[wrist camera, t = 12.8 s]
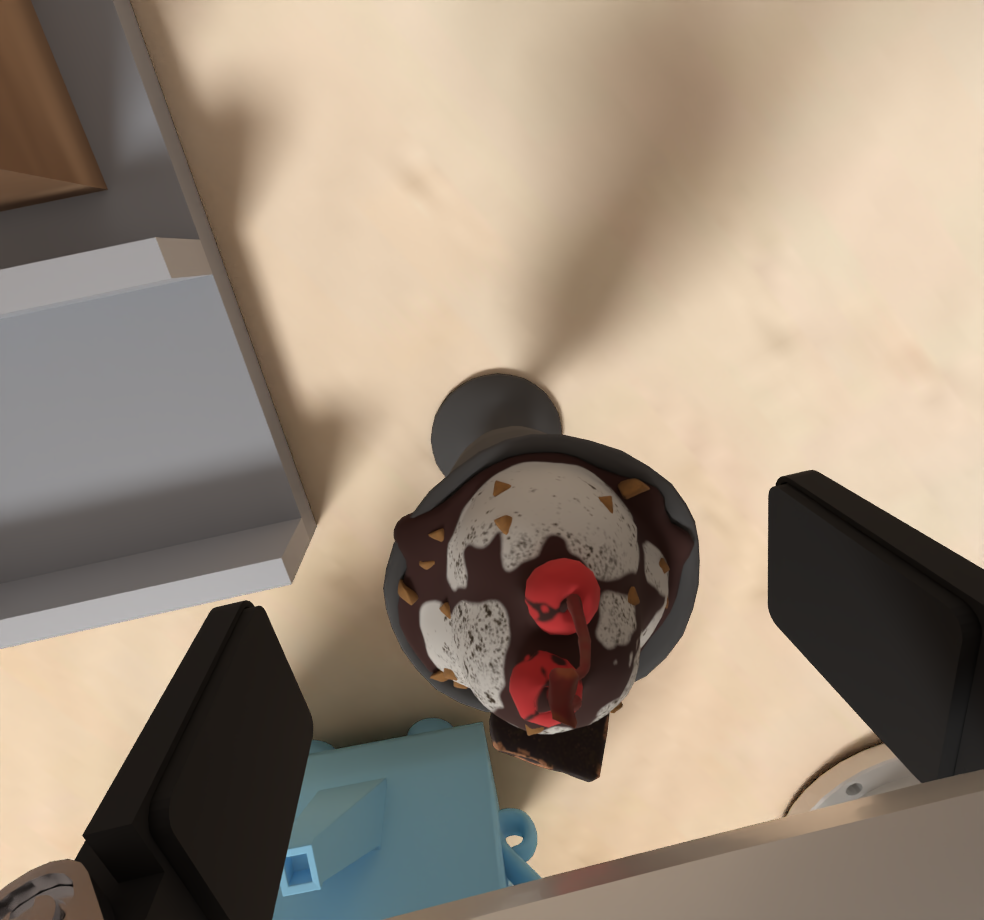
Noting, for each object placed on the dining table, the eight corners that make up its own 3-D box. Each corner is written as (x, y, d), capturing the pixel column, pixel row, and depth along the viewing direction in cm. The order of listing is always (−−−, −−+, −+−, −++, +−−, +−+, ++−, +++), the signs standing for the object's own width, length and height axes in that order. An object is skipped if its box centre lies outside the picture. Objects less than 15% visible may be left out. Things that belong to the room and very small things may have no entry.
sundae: (469, 311, 19) (562, 473, 5) (617, 412, 21) (984, 737, 7) (372, 462, 21) (240, 901, 7) (517, 543, 22) (652, 1023, 8)
